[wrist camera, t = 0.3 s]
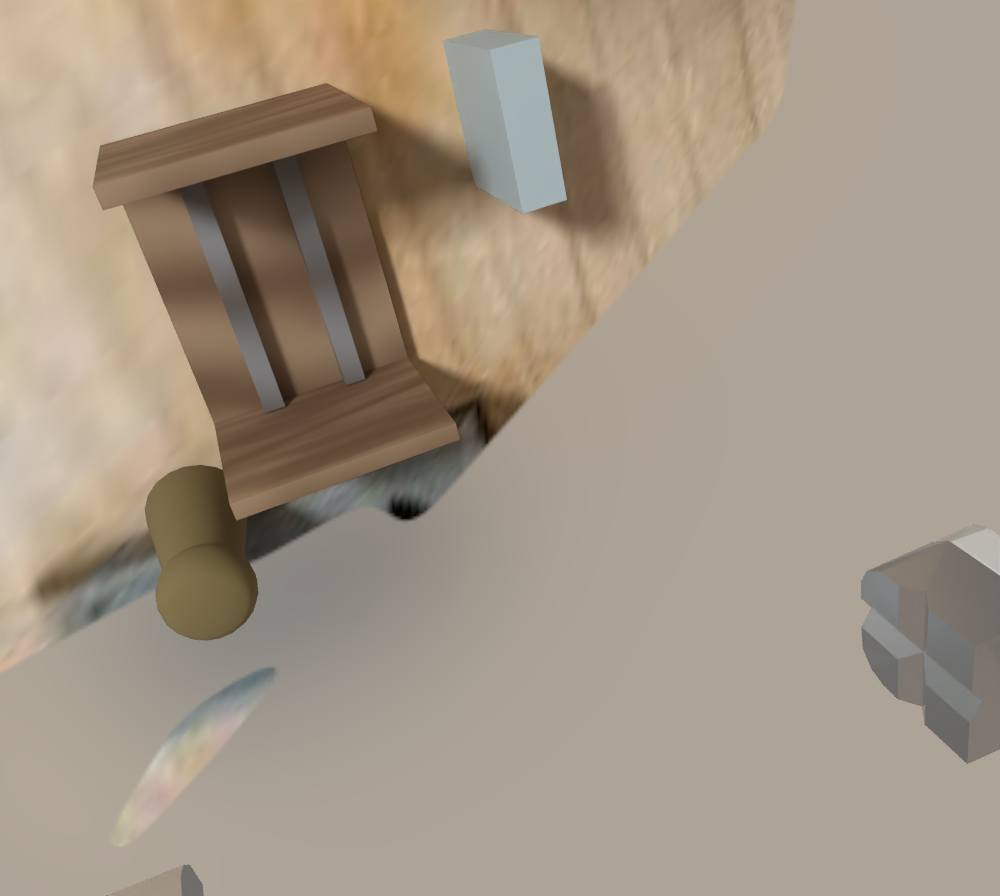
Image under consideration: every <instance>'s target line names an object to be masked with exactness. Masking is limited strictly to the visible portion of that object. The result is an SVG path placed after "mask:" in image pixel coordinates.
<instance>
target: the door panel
mask: <svg viewBox="0 0 1000 896" xmlns="http://www.w3.org/2000/svg"><path fill="white" fill-rule="evenodd" d="M443 45H444V50H445V54H446V59H447V63H448V68H449V72H450V77H451V81H452V86H453V90H454V94H455V99H456V103H457V108H458V112H459V117H460V121H461V126H462V130H463V135H464V139H465V144H466V148H467V153H468V157H469V162H470V166H471V171H472V175H473V180H474V184H475V186H477V187H479V188H480V189H482V190H484V191H485V192H487V193H489V194H490V195H492V196H494V197H495V198H497V199H499V200H500V201H502V202H504V203H505V204H507V205H509V206H510V207H512V208H514V209H515V210H517V211H519V212H521V213H522V214H524V213H527V212H530V211H534V210H537V209H540V208H543V207H546V206H549V205H552V204H556V203H559V202H562V201H565V200H567V197H566V191H565V186H564V180H563V174H562V169H561V163H560V157H559V151H558V146H557V140H556V134H555V128H554V123H553V117H552V111H551V106H550V100H549V94H548V88H547V83H546V77H545V71H544V66H543V60H542V54H541V48H540V43H539V37H538V36H531V35H524V34H517V33H510V32H502V31H495V30H488V29H484V30H480V31H476V32H473V33H469V34H465V35H462V36H458V37H454V38H451V39H447V40H444V41H443Z"/></svg>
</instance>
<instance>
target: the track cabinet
mask: <svg viewBox="0 0 1000 896" xmlns="http://www.w3.org/2000/svg"><path fill="white" fill-rule="evenodd" d="M375 131H377V127H376V124H375V120H374V116H373V112H372V109H371V107H369V106H368V105H366V104H364V103H362V102H360V101H358V100H356V99H355V98H353V97H351V96H349V95H347V94H345V93H344V92H342V91H340V90H338V89H336V88H334V87H332V86H331V85H329V84H327V83H326V84H322V85H319V86H315V87H311V88H308V89H304V90H301V91H297V92H293V93H290V94H286V95H282V96H279V97H275V98H272V99H268V100H264V101H261V102H257V103H254V104H250V105H246V106H243V107H239V108H235V109H232V110H228V111H225V112H221V113H217V114H214V115H210V116H207V117H203V118H199V119H196V120H192V121H189V122H185V123H181V124H178V125H174V126H170V127H167V128H163V129H160V130H156V131H152V132H149V133H145V134H142V135H138V136H134V137H131V138H127V139H124V140H120V141H116V142H113V143H109V144H105V145H102V146H100V150H99V155H98V161H97V166H96V172H95V177H94V183H93V188H94V191H95V193H96V195H97V198H98V200H99V202H100V205H101V207H102V209H103V210H106V209H109V208H113V207H116V206H120V205H123V206H124V209H125V211H126V213H127V216H128V218H129V220H130V223H131V225H132V228H133V230H134V232H135V235H136V237H137V240H138V242H139V244H140V247H141V249H142V252H143V254H144V256H145V259H146V261H147V263H148V266H149V268H150V271H151V273H152V275H153V278H154V280H155V283H156V285H157V287H158V290H159V292H160V295H161V297H162V299H163V302H164V304H165V307H166V309H167V311H168V314H169V316H170V318H171V321H172V323H173V326H174V328H175V330H176V333H177V335H178V338H179V340H180V342H181V345H182V347H183V350H184V352H185V354H186V357H187V359H188V362H189V364H190V366H191V369H192V371H193V373H194V376H195V378H196V381H197V383H198V385H199V388H200V390H201V393H202V395H203V397H204V400H205V402H206V405H207V407H208V409H209V412H210V414H211V417H212V419H213V421H214V424H215V429H216V435H217V440H218V445H219V451H220V456H221V461H222V467H223V472H224V477H225V483H226V488H227V493H228V499H229V504H230V507H231V509H232V511H233V514H234V516H235V518H236V520H240V519H242V518H245V517H248V516H251V515H253V514H256V513H259V512H262V511H265V510H267V509H270V508H273V507H276V506H278V505H281V504H284V503H287V502H289V501H292V500H295V499H298V498H300V497H303V496H306V495H309V494H311V493H314V492H317V491H320V490H322V489H325V488H328V487H331V486H333V485H336V484H339V483H342V482H344V481H347V480H350V479H353V478H355V477H358V476H361V475H364V474H366V473H369V472H372V471H375V470H377V469H380V468H383V467H386V466H388V465H391V464H394V463H397V462H399V461H402V460H405V459H408V458H411V457H413V456H416V455H419V454H422V453H424V452H427V451H430V450H433V449H435V448H438V447H441V446H444V445H446V444H449V443H452V442H455V441H457V440H460V437H459V434H458V430H457V426H456V423H455V421H454V420H453V419H452V417H451V416H450V415H449V413H448V412H447V411H446V409H445V408H444V406H443V405H442V404H441V402H440V401H439V400H438V398H437V397H436V395H435V394H434V393H433V391H432V390H431V389H430V387H429V386H428V384H427V383H426V382H425V380H424V379H423V378H422V376H421V375H420V373H419V372H418V371H417V369H416V368H415V367H414V365H413V364H412V363H411V361H410V360H409V358H408V356H407V353H406V349H405V346H404V342H403V339H402V335H401V332H400V328H399V325H398V322H397V318H396V315H395V311H394V308H393V304H392V301H391V297H390V294H389V290H388V287H387V283H386V280H385V276H384V273H383V269H382V266H381V262H380V259H379V255H378V252H377V248H376V245H375V241H374V238H373V234H372V231H371V227H370V224H369V220H368V217H367V213H366V210H365V206H364V203H363V199H362V196H361V192H360V189H359V185H358V182H357V178H356V175H355V171H354V168H353V164H352V161H351V157H350V154H349V150H348V147H347V143H346V140H347V139H351V138H354V137H358V136H361V135H365V134H368V133H371V132H375Z"/></svg>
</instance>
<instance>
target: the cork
mask: <svg viewBox="0 0 1000 896" xmlns="http://www.w3.org/2000/svg"><path fill="white" fill-rule="evenodd" d="M145 513H146V520H147V525H148V528H149V531H150V534H151V537H152V540H153V543H154V546H155V549H156V552H157V556H158V559H159V562H160V565H161V568H162V572H161V574H160V576H159V579H158V583H157V587H156V601H157V608H158V611H159V612H160V614H161V616H162V618H163V619H164V621H165V623H166V624H167V626H169V627H170V628H171V629H173V630H174V631H175V632H176V633H178V634H180V635H183V636H185V637H188V638H191V639H195V640H212V639H218V638H221V637H224V636H226V635H228V634H230V633H233V632H234V631H235V630H236V629H238V628H239V627H240V626H242V625H243V624H244V623H245V622H246V621H247V619H248V618H249V617H250V615H251V614H252V612H253V611H254V607H255V604H256V600H257V596H258V587H257V579H256V575H255V573H254V571H253V569H252V567H251V565H250V563H249V562H248V561H247V560H246V559H245V548H246V531H247V517H245V518H242V519H240V520H236V518H235V516H234V514H233V511H232V509H231V507H230V504H229V499H228V493H227V488H226V483H225V477H224V472H223V471H222V470H220V469H218V468H215V467H209V466H203V465H197V466H189V467H183V468H180V469H178V470H175V471H173V472H170V473H168V474H167V475H166V476H164V477H163V478H162V479H161V480H159V481H158V482H157V483H156V484H155V486H154V487H153V489H152V490H151V492H150V493H149V495H148V498H147V502H146V506H145Z"/></svg>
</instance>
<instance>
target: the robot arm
mask: <svg viewBox="0 0 1000 896" xmlns="http://www.w3.org/2000/svg"><path fill="white" fill-rule="evenodd" d="M861 599H863V600H864V601H865V602H866V603H867V604H868V605H870V606H871V607H872V609H871V610H870V612H869V614H868V616H867V618H866V620H865V621H864V623H863V625H862V642H863V650H864V652H865V654H866V657H867V659H868V661H869V664H870V666H871V668H872V670H873V672H874V673H875V674H876V676H877V677H878V678H879V680H880V681H881V683H882V684H883V685H884V686H885V687H886V688H887V689H888V690H889V691H890V692H891V693H892V694H893V695H894V696H895V697H896V698H897V699H900V700H903V701H906V702H910V703H913V704H916V705H920V706H922V707H923V715H924V722H925V725H926V726H927V727H928V728H929V729H930V730H931V731H933V732H934V733H935V734H936V735H937V736H938V737H939V738H940V739H941V740H942V741H943V742H944V743H945V744H946V745H948V746H949V747H950V748H951V749H952V750H953V751H954V752H955V753H956V754H957V755H958V756H959V757H960V758H962V759H963V760H964V761H965V762H966V763H967V764H968V763H970V762H972V761H975V760H977V759H979V758H981V757H983V756H986V755H988V754H990V753H992V752H995V751H997V750H999V749H1000V536H999V535H998V534H996V533H995V532H993V531H991V530H990V529H988V528H986V527H983V526H978V525H971V526H969V527H966V528H964V529H962V530H960V531H957V532H955V533H953V534H950V535H948V536H946V537H944V538H941V539H939V540H937V541H936V542H932V543H929V544H927V545H925V546H922V547H920V548H918V549H916V550H913V551H911V552H909V553H907V554H904V555H902V556H900V557H898V558H896V559H893V560H891V561H889V562H887V563H884V564H882V565H880V566H877V567H875V568H873V569H871V570H868V571H867V572H866V573H865V575H864V577H863V579H862V581H861ZM107 896H204V895H203V885H202V883H201V881H200V880H199V879H198V877H197V875H196V874H195V872H194V870H193V869H192V868H191V866H190V865H182V866H180V867H177V868H175V869H172V870H170V871H167V872H165V873H162V874H160V875H157V876H155V877H152V878H150V879H147V880H145V881H142V882H140V883H138V884H135V885H132V886H130V887H127V888H125V889H123V890H120V891H117V892H115V893H112V894H110V895H107Z"/></svg>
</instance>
